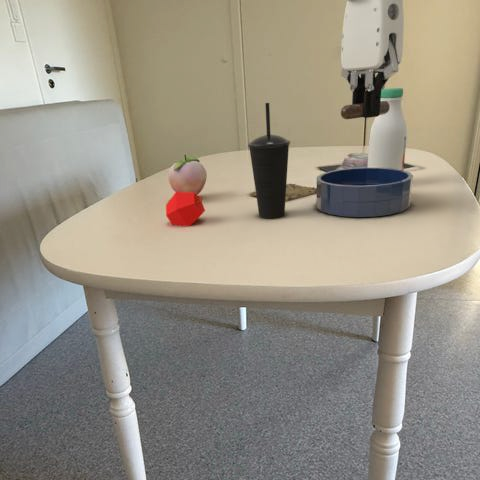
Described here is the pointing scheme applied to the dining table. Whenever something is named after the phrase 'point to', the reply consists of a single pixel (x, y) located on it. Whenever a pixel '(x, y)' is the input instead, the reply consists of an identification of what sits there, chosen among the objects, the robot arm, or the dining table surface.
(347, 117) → the stick
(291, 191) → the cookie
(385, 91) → the milk bottle
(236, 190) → the dining table surface
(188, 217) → the red faceted polyhedron
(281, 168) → the drinking cup
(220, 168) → the dining table surface
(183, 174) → the decorative fruit
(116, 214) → the dining table surface
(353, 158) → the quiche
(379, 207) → the bowl
